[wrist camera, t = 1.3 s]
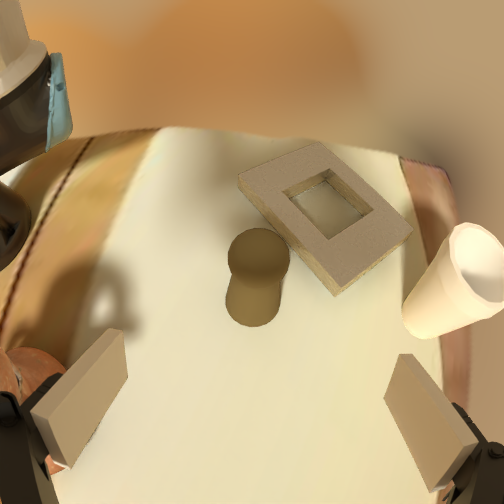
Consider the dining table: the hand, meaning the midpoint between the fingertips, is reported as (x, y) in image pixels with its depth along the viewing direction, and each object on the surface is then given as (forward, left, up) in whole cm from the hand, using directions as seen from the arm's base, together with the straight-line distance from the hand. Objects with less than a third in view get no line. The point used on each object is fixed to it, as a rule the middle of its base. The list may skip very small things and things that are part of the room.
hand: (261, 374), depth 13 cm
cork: (-9, +7, -18) cm, 21 cm away
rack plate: (-14, +22, -18) cm, 31 cm away
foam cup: (+5, +23, -18) cm, 29 cm away
